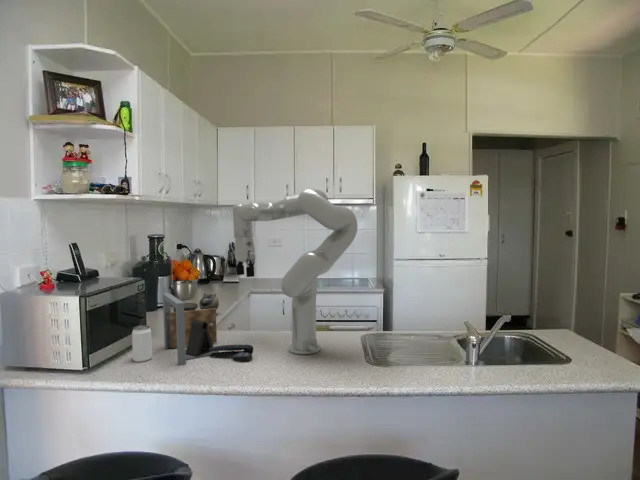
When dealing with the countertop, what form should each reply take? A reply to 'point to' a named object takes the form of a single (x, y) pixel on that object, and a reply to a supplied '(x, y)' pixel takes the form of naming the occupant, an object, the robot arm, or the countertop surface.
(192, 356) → the rubber mat
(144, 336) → the can
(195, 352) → the phone stand
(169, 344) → the gate door
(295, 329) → the robot arm
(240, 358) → the can opener
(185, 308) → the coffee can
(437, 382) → the countertop surface
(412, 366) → the countertop surface
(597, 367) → the countertop surface
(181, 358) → the door frame
